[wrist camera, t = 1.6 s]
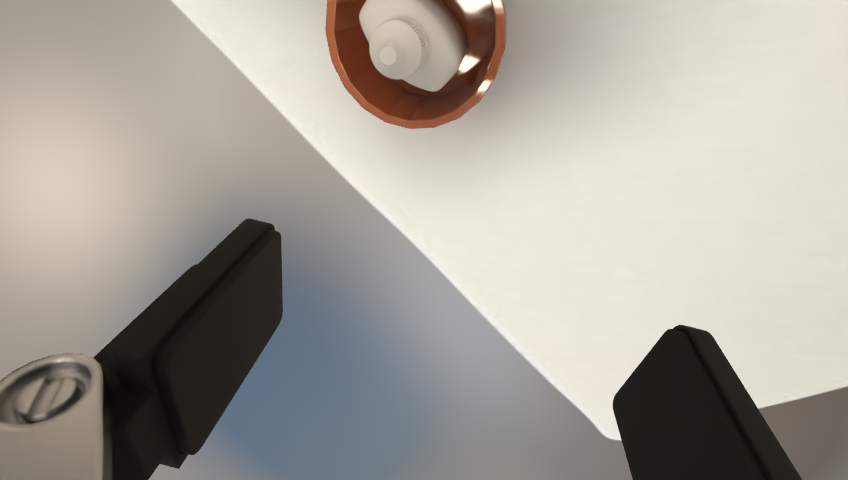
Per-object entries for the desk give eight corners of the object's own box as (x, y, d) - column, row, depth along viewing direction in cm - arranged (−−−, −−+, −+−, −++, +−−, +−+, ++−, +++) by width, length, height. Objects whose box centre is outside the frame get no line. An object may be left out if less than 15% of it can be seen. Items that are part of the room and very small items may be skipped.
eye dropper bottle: (413, 81, 28) (368, 135, 18) (383, -7, 25) (310, 0, 15) (473, 60, 26) (459, 106, 17) (448, -35, 24) (413, -47, 14)
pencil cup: (370, -83, 23) (333, -102, 18) (525, -41, 23) (534, -48, 18) (353, 82, 29) (320, 105, 23) (478, 116, 29) (474, 146, 23)
